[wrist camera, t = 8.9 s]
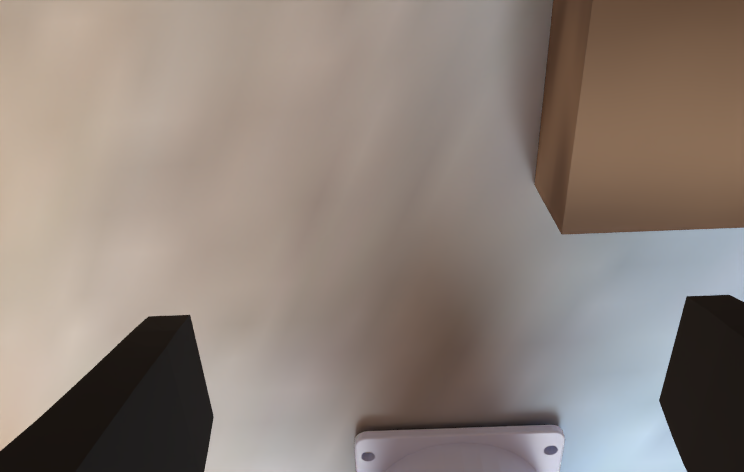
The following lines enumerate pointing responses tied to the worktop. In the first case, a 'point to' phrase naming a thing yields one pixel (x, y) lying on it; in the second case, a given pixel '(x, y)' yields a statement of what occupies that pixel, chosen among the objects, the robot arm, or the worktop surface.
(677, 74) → the board
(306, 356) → the worktop surface
